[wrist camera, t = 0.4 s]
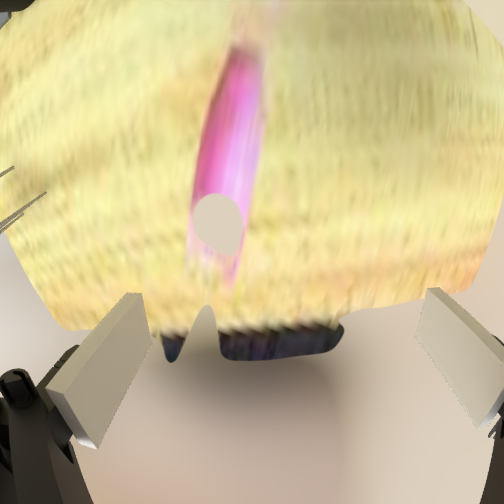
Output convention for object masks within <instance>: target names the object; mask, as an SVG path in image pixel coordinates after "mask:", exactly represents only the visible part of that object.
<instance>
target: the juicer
mask: <svg viewBox="0 0 504 504" xmlns="http://www.w3.org/2000/svg"><path fill="white" fill-rule="evenodd" d="M12 169H14V167H13V166H12V167H10V168H9V169H7V170H5V171H3V172H2V173H0V177H2V176H3V175H5V174H6V173H8V172H9V171H11V170H12ZM45 194H46V192H44V193H43V194H41V195H40V196H38V197H37V198H35V199H34V200H32V201H31V202H29V203H28V204H26V205H25V206H23V207H22V208H21V209H19V210H18V211H16V212H15V213H13V214H12V215H10V216H9V217H8V218H6V219H5V220H3V221H2V222H0V229H1V228H2V227H3V226H5V225H6V224H7V223H8V222H10V221H11V220H12V219H13V218H15V217H16V216H17V215H18V214H20V213H21V212H22V211H24V210H25V209H26V208H27V207H29V206H30V205H31V204H33V203H34V202H35V201H37V200H38V199H39V198H41V197H42V196H43V195H45ZM21 216H23V213H22V214H21V215H20V216H18V217H17V218H16V219H14V220H13V221H12V222H10V223H9V224H8V225H6V226H5V227H4V228H2V229H1V230H0V234H1V233H2V232H3V231H5V230H6V229H7V228H8V227H9V226H11V225H12V224H13V223H14V222H15V221H16V220H18V219H19V218H20V217H21Z"/></svg>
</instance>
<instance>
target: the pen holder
mask: <svg viewBox="0 0 504 504" xmlns="http://www.w3.org/2000/svg"><path fill="white" fill-rule="evenodd" d="M33 1H34V0H0V13H2V12H15V11H21V10H23V9H25V8H26V7H28V6H29V5H30V4H31V3H32V2H33Z"/></svg>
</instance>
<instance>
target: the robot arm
mask: <svg viewBox="0 0 504 504" xmlns="http://www.w3.org/2000/svg"><path fill="white" fill-rule="evenodd" d="M415 338H416V339H417V341H418V342H419V344H420V345H421V346H422V348H423V349H424V350H425V352H426V353H427V355H428V356H429V357H430V359H431V360H432V362H433V363H434V364H435V366H436V367H437V369H438V370H439V372H440V373H441V374H442V376H443V377H444V379H445V380H446V382H447V383H448V385H449V386H450V388H451V389H452V391H453V392H454V394H455V395H456V397H457V398H458V400H459V401H460V403H461V405H462V406H463V407H464V409H465V411H466V412H467V414H468V416H469V417H470V419H471V420H472V422H473V424H474V425H475V427H476V429H479V428H482V427H483V426H486V425H488V424H490V423H491V421H492V420H493V419H494V417H495V416H496V414H497V413H499V414H500V416H501V418H500V419H499V420H498V422H497V423H496V425H495V426H494V427H493V429H492V430H491V431H490V433H489V435H488V437H489V438H490V437H491V435H492V434H493V433H494V432H495V431H496V434H495V436H494V437H493V439H495V441H494V447H493V453H492V458H491V463H490V467H489V472H488V476H487V480H486V484H485V488H484V491H483V495H482V498H481V501H480V504H504V344H503V343H502V342H501V341H500V340H499V339H498V338H497V337H496V336H494V335H492V334H490V333H489V332H488V331H487V330H486V329H485V328H484V327H483V326H482V325H481V324H480V323H479V322H478V321H477V320H476V319H475V318H473V317H472V316H471V315H470V314H469V313H468V312H467V311H466V310H465V309H463V308H462V307H461V306H460V305H459V304H458V303H457V302H456V301H454V300H453V299H452V298H451V297H450V296H449V295H448V294H446V293H445V292H444V291H443V290H442V289H441V288H439V287H436V288H427V291H426V295H425V300H424V304H423V308H422V312H421V316H420V320H419V324H418V327H417V331H416V335H415ZM151 345H152V340H151V336H150V331H149V327H148V322H147V318H146V313H145V308H144V303H143V298H142V293H126V294H125V295H124V296H123V297H122V299H121V300H120V301H119V302H118V303H117V304H116V305H115V306H114V307H113V308H112V309H111V311H110V312H109V313H108V314H107V315H106V316H105V317H104V318H103V319H102V321H101V322H100V323H99V324H98V325H97V326H96V327H95V329H94V330H93V331H92V332H91V333H90V334H89V335H88V337H87V338H86V339H85V340H84V341H83V342H82V344H81V345H75V346H73V347H72V348H70V349H69V350H67V351H66V352H65V353H64V354H63V356H62V357H61V358H60V360H59V361H57V362H56V364H55V365H54V367H52V368H51V370H50V371H49V372H48V373H47V374H46V376H45V377H44V378H43V379H42V380H41V381H40V383H39V384H38V385H37V386H36V387H35V385H34V383H33V381H32V380H31V378H30V376H29V374H28V372H27V371H25V370H23V369H12V370H10V371H7V372H6V373H4V374H3V375H2V376H1V377H0V392H1V393H2V395H3V396H4V398H0V504H93V501H92V499H91V496H90V494H89V492H88V489H87V486H86V484H85V481H84V479H83V476H82V473H81V470H80V467H79V464H78V461H77V458H76V455H75V452H74V449H73V446H72V444H71V442H70V441H69V440H70V438H71V436H72V434H73V435H74V436H75V437H76V439H77V440H78V442H79V443H80V444H82V445H85V446H88V447H91V448H95V449H98V448H99V446H100V444H101V441H102V439H103V437H104V435H105V433H106V431H107V429H108V427H109V425H110V423H111V421H112V419H113V417H114V415H115V413H116V411H117V409H118V407H119V406H120V404H121V401H122V400H123V398H124V396H125V394H126V392H127V390H128V388H129V386H130V384H131V382H132V381H133V379H134V377H135V375H136V373H137V371H138V369H139V367H140V366H141V364H142V362H143V360H144V358H145V356H146V354H147V353H148V351H149V349H150V347H151Z"/></svg>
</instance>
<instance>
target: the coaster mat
mask: <svg viewBox="0 0 504 504" xmlns="http://www.w3.org/2000/svg"><path fill="white" fill-rule="evenodd" d="M10 18H11V12H2V13H0V28H1V27H2V26H3V25H4V24H5V23H6V22H7V21H8V20H9V19H10Z"/></svg>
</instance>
